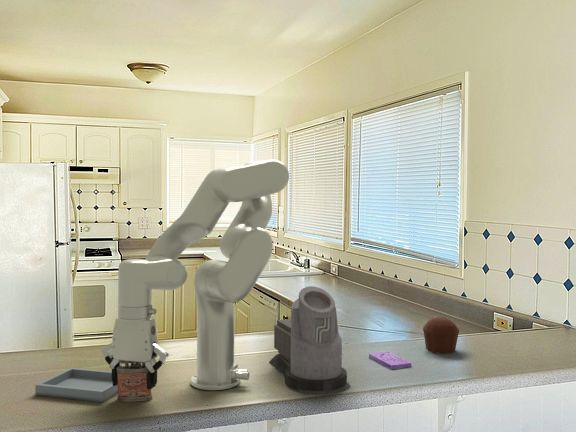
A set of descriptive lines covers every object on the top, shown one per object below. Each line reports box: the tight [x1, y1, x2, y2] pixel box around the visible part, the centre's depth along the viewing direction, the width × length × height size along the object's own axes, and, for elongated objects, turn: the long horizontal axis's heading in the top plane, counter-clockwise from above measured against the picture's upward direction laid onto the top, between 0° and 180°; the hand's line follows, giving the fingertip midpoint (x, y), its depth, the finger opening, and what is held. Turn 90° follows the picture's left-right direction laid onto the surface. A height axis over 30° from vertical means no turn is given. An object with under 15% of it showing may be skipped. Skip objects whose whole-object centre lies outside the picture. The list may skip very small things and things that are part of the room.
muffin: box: [422, 316, 460, 355], centre depth 179 cm, size 12×11×10 cm
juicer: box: [268, 286, 352, 396], centre depth 151 cm, size 30×16×24 cm, turn 21°
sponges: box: [368, 350, 412, 370], centre depth 165 cm, size 7×13×2 cm, turn 23°
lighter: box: [116, 360, 153, 402], centre depth 133 cm, size 8×3×10 cm, turn 93°
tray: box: [34, 367, 118, 404], centre depth 139 cm, size 18×14×2 cm
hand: (134, 385), depth 133 cm, fingers open, 8 cm apart
